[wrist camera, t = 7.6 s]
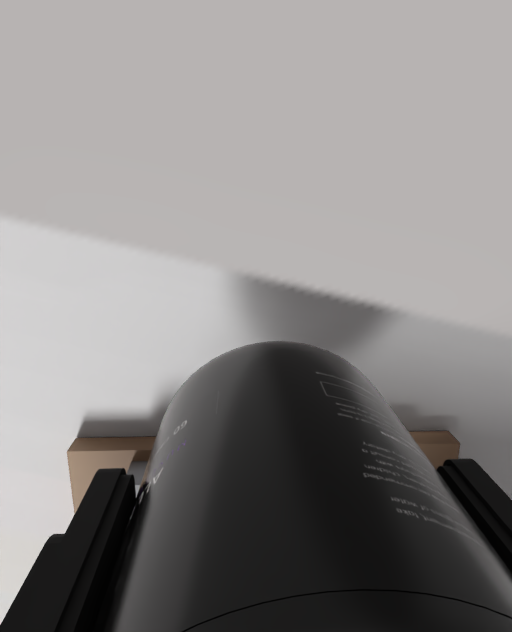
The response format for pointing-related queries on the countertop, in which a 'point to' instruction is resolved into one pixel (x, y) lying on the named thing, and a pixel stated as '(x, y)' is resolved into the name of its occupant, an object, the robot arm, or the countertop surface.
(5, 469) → the countertop surface
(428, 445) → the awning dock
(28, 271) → the countertop surface
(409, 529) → the supplement bottle
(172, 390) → the countertop surface
